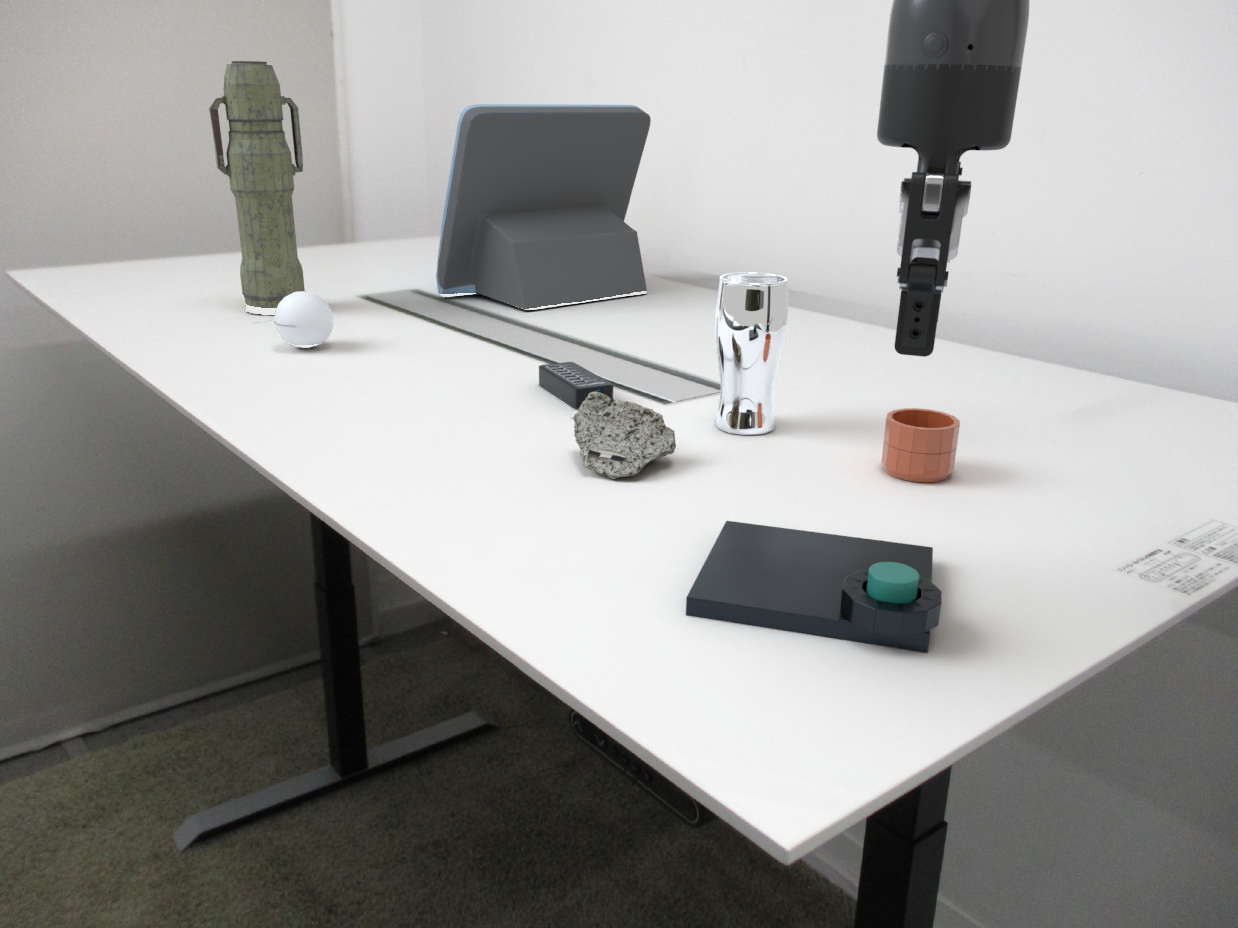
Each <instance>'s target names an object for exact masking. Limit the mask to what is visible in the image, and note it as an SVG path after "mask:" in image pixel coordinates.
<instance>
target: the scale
mask: <svg viewBox="0 0 1238 928" xmlns="http://www.w3.org/2000/svg"><path fill="white" fill-rule="evenodd" d="M933 555H934V548H933V547H932V546H926V545H918V544H911V543H910V544H909V543H902V542H895V541H888V540H880V539H871V538H864V537H856V536H847V535H842V534H841V535H840V534H833V533H825V532H819V531H810V530H802V529H795V528H788V527H787V528H786V527H780V526H771V525H765V524H756V523H747V522H741V521H733V520H732V521H731V520H726V521H725V522H724V525H723V527H722V528H721V529H720V532H719V534H718V536H717V537H716V540H715V542H714V544H713V546H712V547H711V549H710V551H709V554H708V556H707V557H706V559H705V561H704V563H703V565H702V567H701V569H700V571H699V572H698V575H697V576H696V578H695V580H694V582H693V584H692V586H691V588H690V590H689V592H688V593H687V596H686V598H685V599H686V601H685V616H688V617H693V618H694V617H695V618H700V619H705V620H706V619H707V620H713V621H720V622H727V623H733V624H738V625H744V626H745V625H746V626H751V627H758V628H765V629H770V630H778V631H783V632H790V633H796V634H803V635H807V636H808V635H809V636H814V637H815V636H817V637H822V638H828V639H833V640H841V641H847V642H854V643H860V644H867V645H873V646H880V647H885V648H892V649H898V650H903V651H904V650H905V651H909V652H911V651H912V652H918V653H923V654H928V653H929V647H930V641H931V640H930V639H931V631H932V630H933V629H935V628H936V627H938V626H939V623H940V617H941V610H942V604H943V603H942V602H943V601H942V600H943V598H942V595H943V594H942V590H941V589H940V588H939V587H938V586H936V584H934V583H933V563H934V562H933V561H934V560H933V559H934V558H933V557H934V556H933ZM880 562H895V563H901V564H904V565H907V566H910V567H912V568H913V569H915V570H916V571H917V572H918V574H919V582H918V590H917V597H916V600H915V601H914V602H912V603H902V604H897V603H890V602H884V601H880V600H877V599H875V598H872V597H870V596H869V595H868V594H867V582H868V573H869V568H870V567H871V566H872V565H873V564H876V563H880Z"/></svg>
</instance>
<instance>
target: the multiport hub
mask: <svg viewBox="0 0 1238 928" xmlns="http://www.w3.org/2000/svg"><path fill="white" fill-rule="evenodd" d="M538 386H540V387H541V388H543V389H544V390H546V391H547V392H549V393H550V394H551V395H553V396H554V397H556V398H558V400H559V399H560V400H561V401H562V402H564V403H565V404H567V405H569V406H570V407H571V408H573V409H574V410H577V409H578V408H579V407H580V406H581V405H582V402H583V401H585V400H586V399H585V398H586V397H588V394H589V393H591V392H597V391H598V392H599V393H602V394H605V395H608V397H609V398H611V399H613V400H614V384H613V383H611V382H610V381H608V380H606V379H604V378H603V377H601V376H599V375H597V374H595V372H592V371H590V370H588V369H587V368H585V367H583V366H581V365H580V364H578V363H576V362H574V361H565V362H564V361H563V362H556V363H546V364H540V365H538ZM612 393H613V394H612ZM611 396H612V397H611Z"/></svg>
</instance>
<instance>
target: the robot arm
mask: <svg viewBox="0 0 1238 928" xmlns="http://www.w3.org/2000/svg"><path fill="white" fill-rule="evenodd" d="M1029 19H1030V0H892V4H891V8H890V14H889V19H888V28H887V36H886V45H885V56H884V66H883V72H882V73H883V75H882V83H881V91H880V92H881V93H880V102H879V111H878V121H877V130H876V137H877V141H878V143H880V144H881V145H883V146H886V147H892V148H904V149H905V148H906V149H907V148H909V149H913V150H914V151H915V152H916V153H917V157H918V160H917V167H916V171H912V172H911V176H910V177H904V178H903V180H901V182H900V189H899V195H898V212H899V213H900V219H899V225H898V230H897V237H896V254H897V255H898V256H900V257H901V258H900V267H897V270H896V278H897V284H899V287H898V288H899V289H898V290H900V296H899V297H900V298H899V306H898V314H897V323H896V329H895V330H896V331H895V337H894V350H895V352H896V353H897V354H899V355H904V356H914V357H923V358H925V357H928V356H930V355H932V354H933V352H934V349H935V342H936V336H937V335H936V333H937V327H938V322H939V315H940V307H941V300H942V294H943V293H944V289H945V288H947V287H948V279H949V273H950V272H949V271H948V270H947V267H948V263H951V261H952V260H954V259H955V258H956V257H958V254H959V246H960V239H961V232H962V226H963V225H962V224H963V218H964V217H966V216H967V215H968V212H969V206H970V205H969V204H970V198H971V191H972V180H961V179H959V178H960V177H961V176H962V175H963V169H964V168H963V167H961V164H962V161H960V159H961V157H962V156H963V155H964V154H965V153H966V152H968V151H999V150H1002V149H1005V148H1006V147H1008V145H1009V144H1010V142H1011V139H1012V134H1013V127H1014V119H1015V114H1016V113H1015V112H1016V105H1017V101H1018V94H1019V87H1020V80H1021V74H1022V68H1023V67H1022V66H1023V60H1024V55H1025V49H1026V48H1025V47H1026V42H1027V41H1026V40H1027V34H1028V28H1029V21H1030V20H1029Z"/></svg>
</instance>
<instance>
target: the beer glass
mask: <svg viewBox="0 0 1238 928" xmlns="http://www.w3.org/2000/svg"><path fill="white" fill-rule="evenodd" d="M788 282H789V280H788V277H786V276H784V275H779V274H775V273H767V272H754V271H753V272H752V271H751V272H750V271H749V272H748V271H746V272H745V271H742V272H740V271H739V272H729V273H724V274H722V275H720V276H719V283H718V292H717V298H716V305H715V306H716V308H715V319H714V320H715V324H714V325H715V326H714V327H715V328H714V333H715V348H716V356H717V363H718V370H719V371H718V372H719V380H720V381H719V382H720V392H719V393H720V394H719V403H718V406H717V410H716V415H715V419H714V426H715V427H716V429H718V430H720V431H722V432H726V433H728V434H732V435H739V436H758V435H764V434H768V433H771V432H772V431H774V430H775V428H776V417H775V409H774V391H775V385H776V380H777V375H778V371H779V369H780V365H781V359H782V355H783V353H784V352H783V351H784V347H785V342H786V336H787V328H788V314H789V313H788V312H789V304H788V303H789V298H788V297H789V294H788V293H789V292H788Z"/></svg>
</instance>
